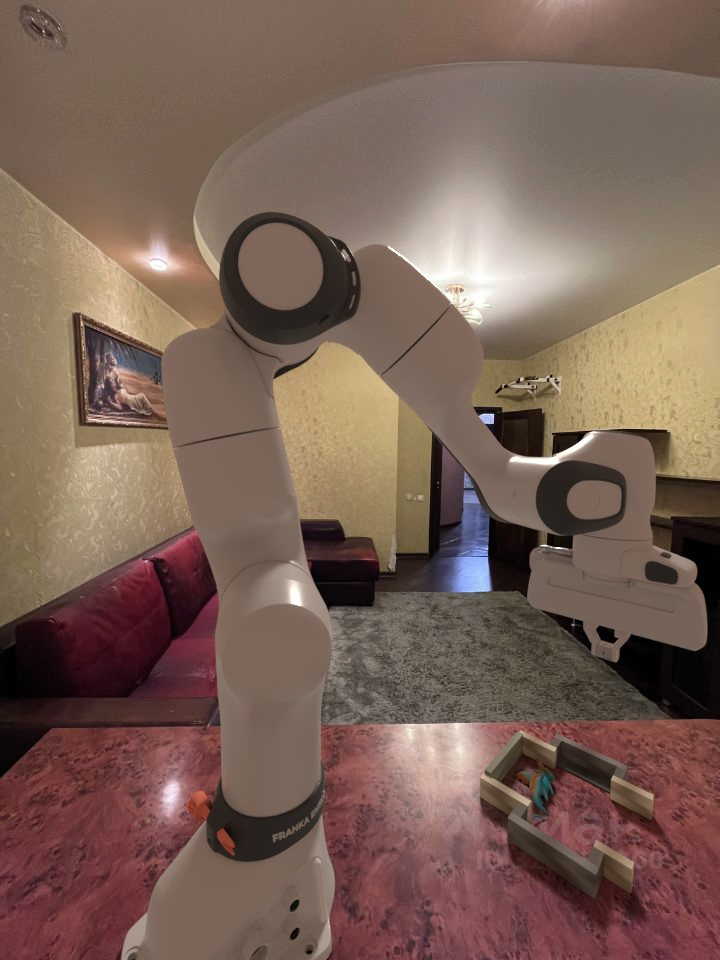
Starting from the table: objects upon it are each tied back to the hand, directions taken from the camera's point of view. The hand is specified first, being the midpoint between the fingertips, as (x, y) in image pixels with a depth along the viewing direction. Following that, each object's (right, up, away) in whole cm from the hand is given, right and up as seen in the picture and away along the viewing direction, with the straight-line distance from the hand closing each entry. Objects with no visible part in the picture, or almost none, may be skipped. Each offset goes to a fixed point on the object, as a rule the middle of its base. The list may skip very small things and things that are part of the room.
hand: (604, 657), depth 54 cm
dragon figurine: (-6, -24, +6) cm, 26 cm away
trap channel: (-3, -24, +5) cm, 24 cm away
